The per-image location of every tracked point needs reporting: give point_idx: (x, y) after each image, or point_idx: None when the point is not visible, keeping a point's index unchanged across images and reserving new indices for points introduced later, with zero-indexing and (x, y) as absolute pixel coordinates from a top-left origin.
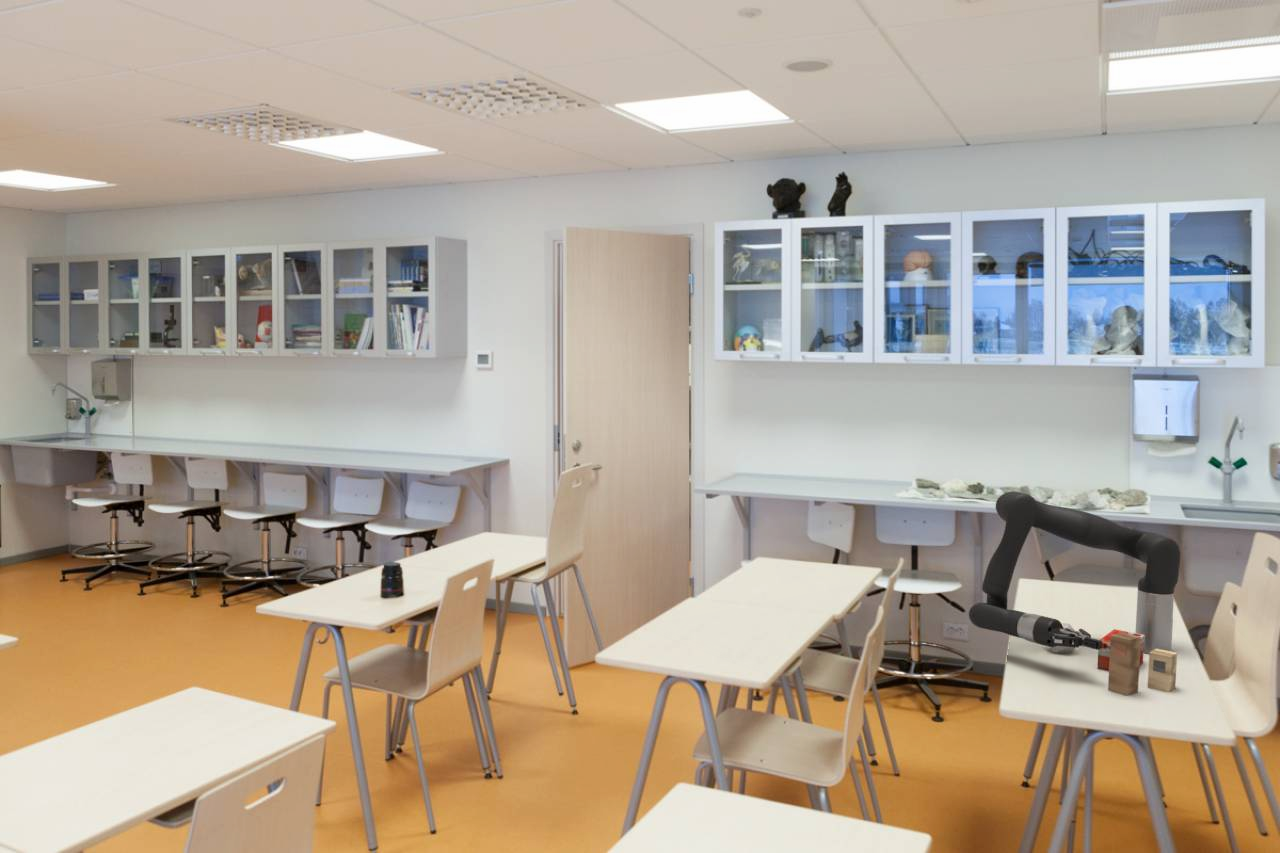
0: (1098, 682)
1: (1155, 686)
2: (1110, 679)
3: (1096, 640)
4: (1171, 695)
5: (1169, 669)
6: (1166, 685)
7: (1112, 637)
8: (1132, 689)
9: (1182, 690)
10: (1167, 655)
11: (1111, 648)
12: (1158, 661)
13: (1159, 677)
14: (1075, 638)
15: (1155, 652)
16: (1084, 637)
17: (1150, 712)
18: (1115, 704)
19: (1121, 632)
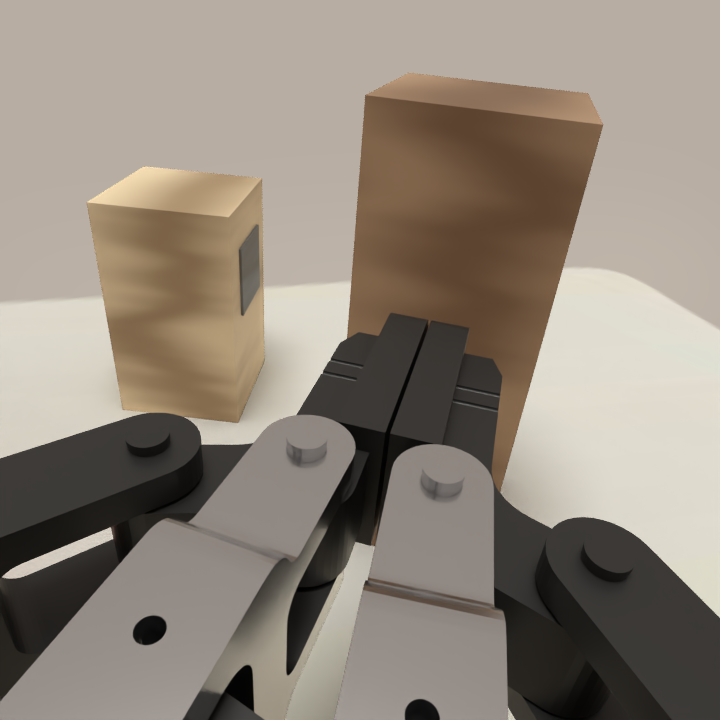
0: (330, 671)
1: (247, 385)
2: None
3: (439, 341)
4: (311, 352)
5: (262, 252)
6: (260, 340)
7: (594, 144)
8: None
9: None
10: (240, 182)
11: (560, 268)
12: (249, 242)
13: (252, 327)
14: (676, 578)
15: (205, 204)
16: (437, 457)
17: (636, 383)
18: (706, 494)
19: (378, 96)
